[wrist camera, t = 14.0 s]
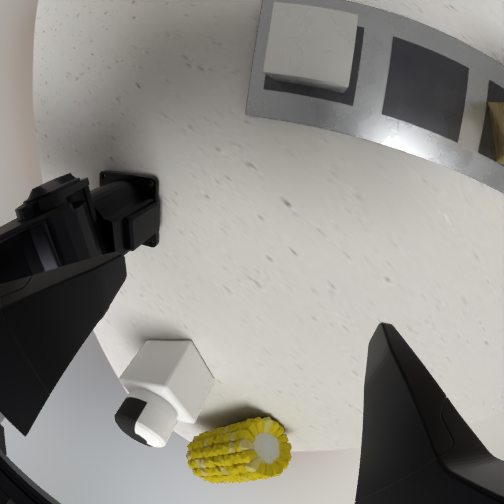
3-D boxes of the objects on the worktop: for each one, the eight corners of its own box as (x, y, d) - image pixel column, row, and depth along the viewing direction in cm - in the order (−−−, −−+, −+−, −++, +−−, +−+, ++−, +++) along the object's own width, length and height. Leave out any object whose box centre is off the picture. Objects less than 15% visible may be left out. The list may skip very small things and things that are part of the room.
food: (268, 402, 33) (248, 469, 24) (306, 438, 36) (295, 495, 27) (187, 410, 39) (162, 460, 31) (229, 443, 43) (213, 489, 34)
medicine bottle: (171, 376, 35) (132, 444, 25) (146, 338, 33) (95, 410, 22) (216, 379, 33) (179, 459, 23) (192, 339, 30) (142, 425, 20)
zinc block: (275, 80, 16) (263, 71, 13) (284, 22, 14) (274, 2, 11) (343, 93, 15) (348, 86, 12) (352, 33, 13) (358, 14, 10)
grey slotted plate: (247, 114, 18) (244, 114, 18) (265, -7, 13) (264, -10, 13) (536, 211, 14) (539, 214, 14) (556, 109, 9) (560, 110, 9)
